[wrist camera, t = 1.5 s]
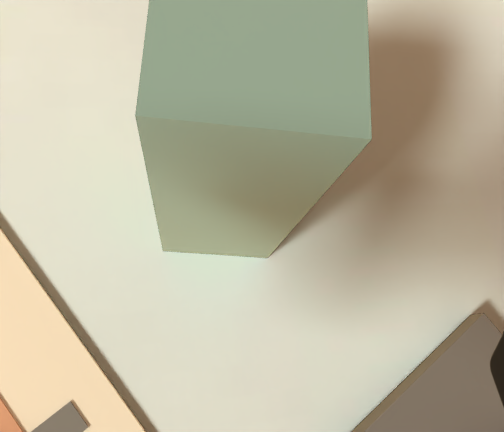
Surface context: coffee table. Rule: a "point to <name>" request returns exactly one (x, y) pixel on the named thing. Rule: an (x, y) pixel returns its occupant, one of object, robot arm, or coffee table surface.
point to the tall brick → (249, 115)
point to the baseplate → (447, 388)
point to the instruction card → (48, 363)
